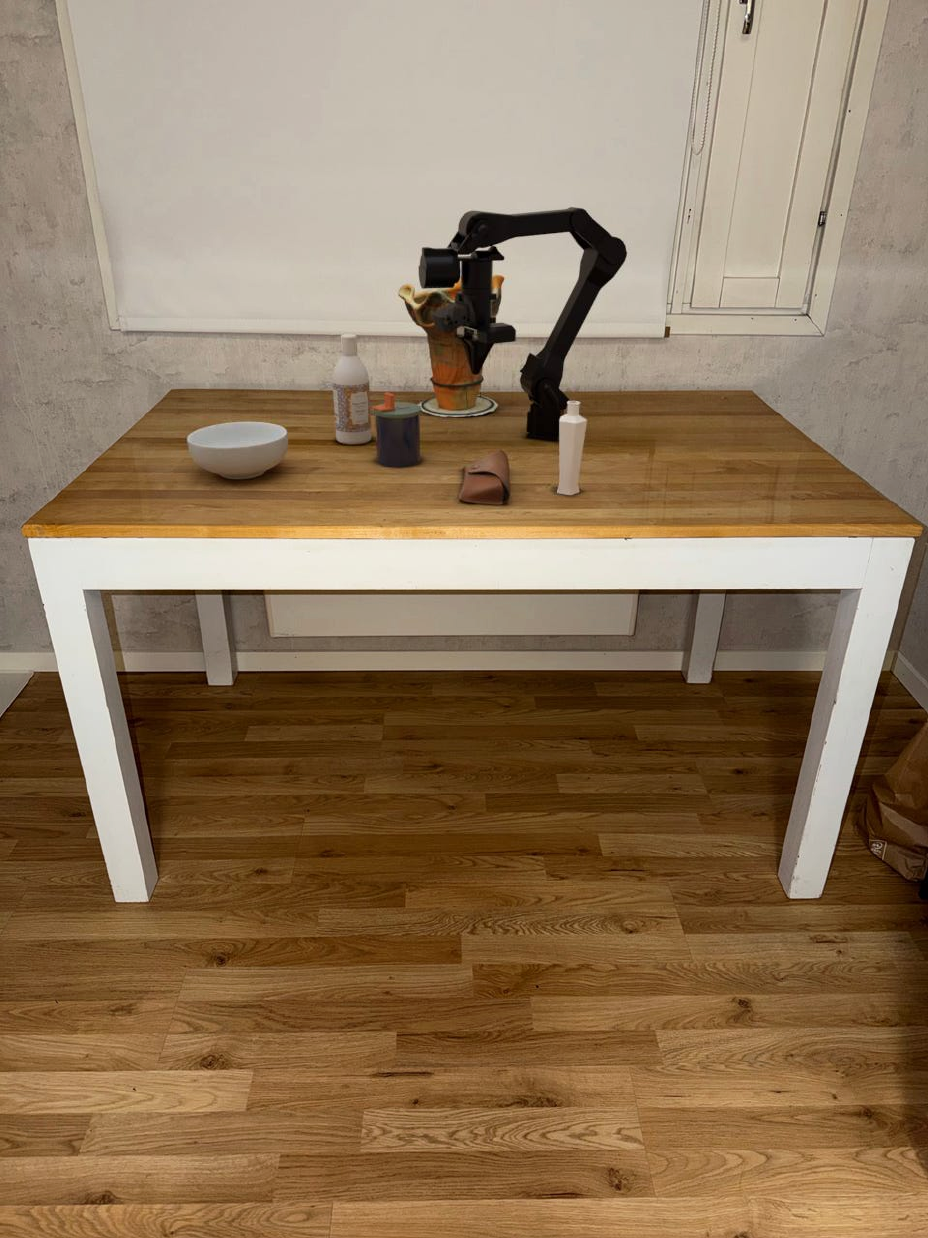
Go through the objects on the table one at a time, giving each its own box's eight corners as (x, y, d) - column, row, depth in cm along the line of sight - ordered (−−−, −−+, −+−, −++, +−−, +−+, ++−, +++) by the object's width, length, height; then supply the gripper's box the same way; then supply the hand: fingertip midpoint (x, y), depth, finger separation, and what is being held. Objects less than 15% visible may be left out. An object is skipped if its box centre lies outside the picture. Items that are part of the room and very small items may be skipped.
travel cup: (408, 450, 164) (407, 399, 160) (430, 463, 158) (429, 410, 153) (367, 457, 160) (365, 405, 156) (387, 470, 154) (386, 416, 149)
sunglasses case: (460, 465, 155) (480, 434, 152) (493, 485, 156) (513, 454, 154) (457, 501, 139) (479, 467, 136) (494, 522, 141) (516, 489, 138)
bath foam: (346, 447, 166) (339, 339, 156) (330, 438, 171) (323, 333, 161) (377, 441, 169) (373, 336, 160) (361, 433, 174) (356, 330, 165)
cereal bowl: (291, 455, 161) (287, 418, 157) (290, 485, 146) (287, 444, 143) (197, 460, 158) (191, 421, 155) (187, 490, 144) (181, 449, 140)
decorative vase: (385, 409, 191) (380, 273, 178) (454, 390, 206) (455, 265, 193) (455, 426, 179) (456, 283, 166) (523, 406, 194) (529, 273, 181)
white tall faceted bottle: (580, 496, 143) (587, 406, 136) (554, 495, 143) (559, 405, 136) (582, 487, 147) (589, 399, 140) (556, 485, 147) (561, 398, 140)
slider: (388, 406, 155) (387, 391, 154) (395, 409, 153) (394, 395, 152) (373, 408, 154) (372, 393, 152) (380, 412, 151) (379, 397, 150)
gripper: (413, 283, 160) (415, 369, 168) (464, 296, 146) (463, 389, 153) (465, 280, 165) (464, 363, 173) (519, 292, 151) (515, 382, 158)
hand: (475, 374), depth 164 cm, fingers closed
